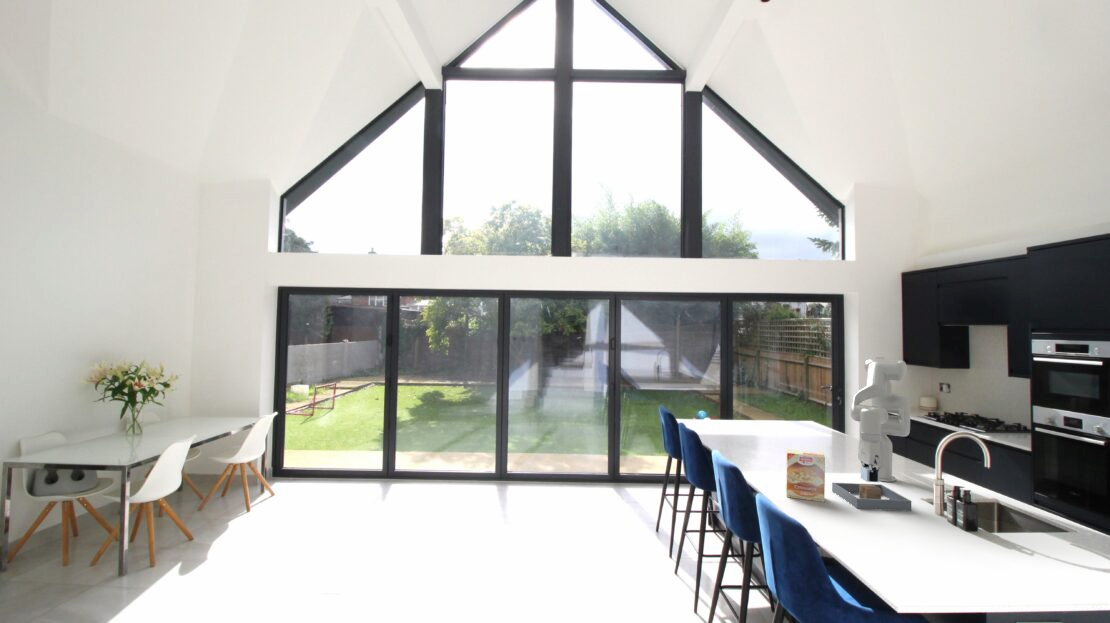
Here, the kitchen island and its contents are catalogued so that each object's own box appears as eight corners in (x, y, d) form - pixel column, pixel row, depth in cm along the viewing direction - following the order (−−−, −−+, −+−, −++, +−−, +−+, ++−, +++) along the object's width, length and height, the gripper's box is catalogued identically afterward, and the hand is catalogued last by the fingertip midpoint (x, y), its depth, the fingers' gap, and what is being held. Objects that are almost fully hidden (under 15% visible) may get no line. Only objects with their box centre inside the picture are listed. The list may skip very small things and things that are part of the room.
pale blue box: (860, 478, 225) (860, 466, 225) (872, 478, 225) (872, 467, 225) (866, 481, 220) (867, 469, 220) (879, 482, 220) (879, 470, 220)
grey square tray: (832, 491, 234) (832, 482, 234) (881, 493, 233) (881, 484, 233) (857, 508, 213) (857, 498, 213) (911, 510, 211) (911, 501, 211)
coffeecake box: (786, 497, 225) (786, 452, 225) (785, 492, 231) (786, 448, 232) (824, 502, 219) (825, 456, 219) (823, 497, 226) (823, 452, 226)
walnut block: (859, 498, 226) (859, 484, 226) (873, 498, 226) (873, 484, 226) (866, 502, 220) (866, 488, 220) (881, 503, 220) (881, 489, 220)
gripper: (851, 432, 232) (850, 473, 231) (872, 441, 215) (871, 485, 214) (868, 433, 231) (868, 474, 231) (890, 441, 214) (890, 485, 214)
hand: (869, 478), depth 223 cm, fingers closed on pale blue box, 4 cm apart
